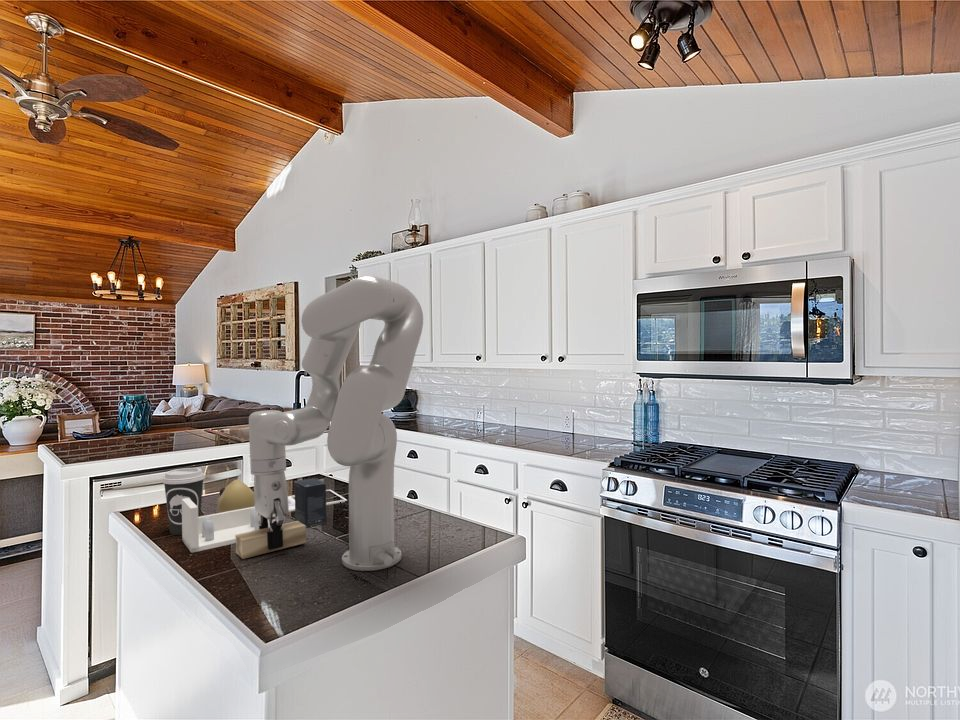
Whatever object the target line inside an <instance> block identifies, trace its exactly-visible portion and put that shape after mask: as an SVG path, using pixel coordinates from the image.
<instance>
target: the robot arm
mask: <svg viewBox="0 0 960 720" xmlns="http://www.w3.org/2000/svg"><path fill="white" fill-rule="evenodd" d="M367 320H377V321H383V322H384V327H383V329H382V331H381V332H380V334H379V336H378V338H377V340H376V343H375V346H374V351H373V354H372V357H371V359H370V360H371V361H370V363H369V365H366V366H361V367H358V368H356V369H353V370H352V371H351V372H350V373H349V374H348V375H347V376H346V378H345V379H344V380H343V382H342V384H341V387H340V375H341V372H342V370H343V368H344V365H345V363H346V360H347V358H348V355H350V354H349V353H350V351H351V349H352V346H353V344H354V342H355V340H356V337H357V335H358V332H359V330H360V327H361V323H363V322H365V321H367ZM300 322H301V326H302V330H303V331H304V332H305V335H307V336H308V337H310V338H311V339H310V341H309V344H308V346H307V348H306V351H305V353H304V356H303V358H302V360H301V368H302V369H303V370H304V371H305V372H306V373H307V374H309V376H310V377H311V381H312V385H311V387H312V388H311V392H310V394H309V397H308V400H307V402H306V403H305V406H304V407H301V408H297V409H293V410H286V411H281V410H277V409H276V410H275V409H273V410H272V409H271V410H270V409H268V410H267V409H266V410H258V411H257V410H256V411H254V412H252V413H251V414H250V415H249V416H248V435H249V461H250V462H249V464H250V474H251V475H252V476H254V477H253V492H254V505H255V510H256V511H257V512H258V515H259V525H261V526H259V529H264V528H269V532H267V540H268V549H269V550H272V549H276V548H280V547H282V546H283V525H282V524H284V521H285V517H284V516H288V515H289V514H290V512H289V505H288V496H289V495H288V486H287V485H288V484H287V480H286V479H287V477H286V473H285V472H286V471H287V455H286V447H287V446H289V447H290V446H295V445H298V444H301V443H305V442H308V441H311V440H315V439H318V438H319V437H321V436H322V435H323V434H324V433H325V432H326V431H327V430H328V433H327V439H326V445H327V450H328V453H329V455H330V457H331V459H333V460H334V461H335V462H336V463H337V464H339V465H341V466H343V467H349V474H348V550H346V551H345V552H344V553H343V554H342V555H341V563H342V565H343V566H344V567H345V568H347V569H350V570H354V571H357V572H359V571H360V572H373V571H379V570H384V569H387V568H391V567H393V566H394V565H397V564H398V563H399V562H400V561H401V560H402V550H401V549H400V548H399V547H398V546H396V542H395V498H394V497H395V495H394V494H395V489H394V487H395V458H396V453H397V452H396V451H397V446H398V445H397V444H398V443H397V442H398V433H397V429H396V426H395V423H394V422H393V420H391V419H390V417H388V416H387V415H385V414H384V413H382V412H383V411H388V410H391V409H393V408H395V407H397V406H398V405H399V404H401V402H402V400H403V398H404V396H405V393H406V389H407V385H408V382H409V378H410V376H411V375H410V374H411V371H412V368H413V364H414V360H415V356H416V352H417V349H418V346H419V343H420V340H421V335H422V332H423V327H424V313H423V308H422V306H421V304H420V301H419V300H418V299H417V297H416V295H414V293H412V292H411V291H410V289H408V288H407V287H405V286H404V285H402V284H400V283H398V282H395V281H392V280H387V279H384V278H382V277H378V276H374V275H373V276H372V275H365V276H364V275H363V276H359V277H355V278H353V279H352V280H350V281H349V280H348V281H347V282H345V283H344V284H342V285H340V286H338V287H336V288H334V289H332V290H329V291H328V292H326V293H324V294H322V295H319V296H318V297H316V298H314V299H313V300H312V301H311V302H309V303H308V304H307V305H306V306H305V308H304V309H303V312H302V314H301V321H300ZM328 428H329V429H328ZM273 514H275V516H274V517H273ZM274 519H275V520H276V521H274V522H273V523H272V520H274Z"/></svg>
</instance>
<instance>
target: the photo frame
mask: <svg viewBox="0 0 960 720" xmlns="http://www.w3.org/2000/svg"><path fill="white" fill-rule="evenodd" d="M328 492H331V493H332V494H334V495H336V496H337V497H339V498H340V500H334V501H329V502H328V501H327V502H326V506H328V505H329V506H330V505H334V504H340V502H341V503H346V502H345V501H347V502H348V499H346V498H345V497H344V496H342V495H340V494H338V493H337V492H335V491H334V490H332V489H326V493H328ZM288 505H289V513H290V512H295V494H293V495H288Z"/></svg>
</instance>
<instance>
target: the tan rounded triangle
mask: <svg viewBox="0 0 960 720" xmlns="http://www.w3.org/2000/svg"><path fill="white" fill-rule="evenodd" d="M249 507H255V505H254V490H252V489H251V488H250V487H249V486H248V485H247V484H246V483H245V482H243V481H241V480H239V479H233V481H232V482H230V483H229V484H227V485H226V486H225V487H223V488H221V489H220V490H219V498H218V501H217V510H218V511H219V513H222V512H228V511H233V510H238V509H244V508H249Z"/></svg>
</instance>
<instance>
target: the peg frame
mask: <svg viewBox="0 0 960 720" xmlns="http://www.w3.org/2000/svg"><path fill="white" fill-rule="evenodd" d="M274 516H275V514H273V517H274ZM274 521H276V520H275V519H274V520H272V523H273V522H274ZM259 526H261V525H259V515H258V512H257V511H256V510H255V507H249V508H244V509H238V510H233V511H228V512H222V513H220V512H218V513H212V514H206V515H200V517H198V507H197V506H196V505H195V504H194V503H193V502H192V501H191V500H190V499H189V498H185V499H182V534H181V535H182V536H181V537H182V539H181V541H182V542H183V543H184V545H185V546H186V548H187V549H188V551H189V552H190V553H192V554H193V553H196V552H201V551H206V550H211V549H214V548H219V547H223V546H229V545H233V544H236V537H235V535H237V534H242V533H246V532H250V531H255V530H259Z"/></svg>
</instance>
